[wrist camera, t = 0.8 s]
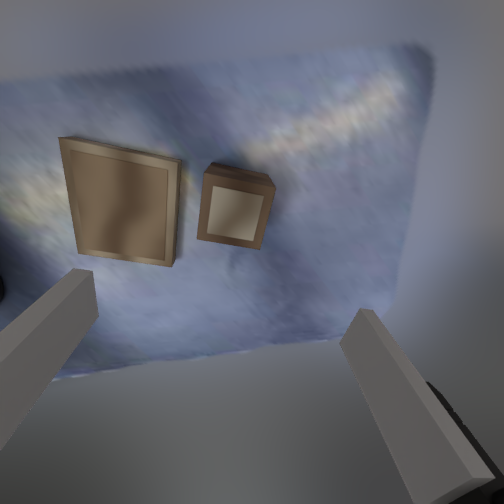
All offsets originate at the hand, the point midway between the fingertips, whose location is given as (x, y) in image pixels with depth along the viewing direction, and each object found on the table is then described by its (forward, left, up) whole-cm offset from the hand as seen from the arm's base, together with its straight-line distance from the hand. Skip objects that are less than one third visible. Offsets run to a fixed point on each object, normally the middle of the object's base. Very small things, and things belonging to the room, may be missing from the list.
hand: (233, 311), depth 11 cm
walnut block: (0, 0, -21) cm, 21 cm away
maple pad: (-13, -4, -20) cm, 25 cm away
